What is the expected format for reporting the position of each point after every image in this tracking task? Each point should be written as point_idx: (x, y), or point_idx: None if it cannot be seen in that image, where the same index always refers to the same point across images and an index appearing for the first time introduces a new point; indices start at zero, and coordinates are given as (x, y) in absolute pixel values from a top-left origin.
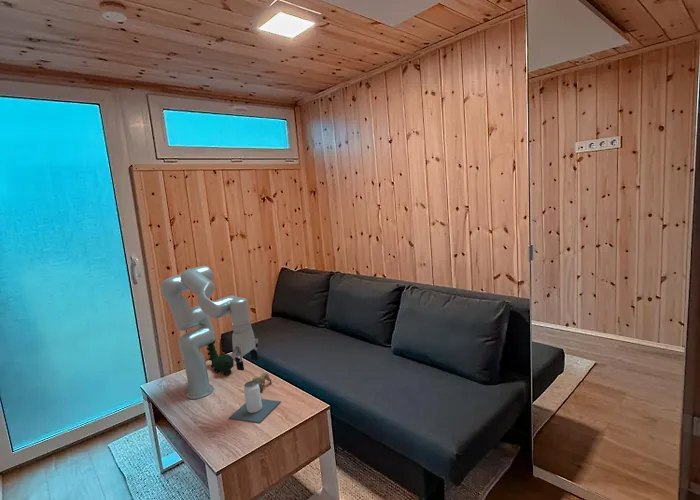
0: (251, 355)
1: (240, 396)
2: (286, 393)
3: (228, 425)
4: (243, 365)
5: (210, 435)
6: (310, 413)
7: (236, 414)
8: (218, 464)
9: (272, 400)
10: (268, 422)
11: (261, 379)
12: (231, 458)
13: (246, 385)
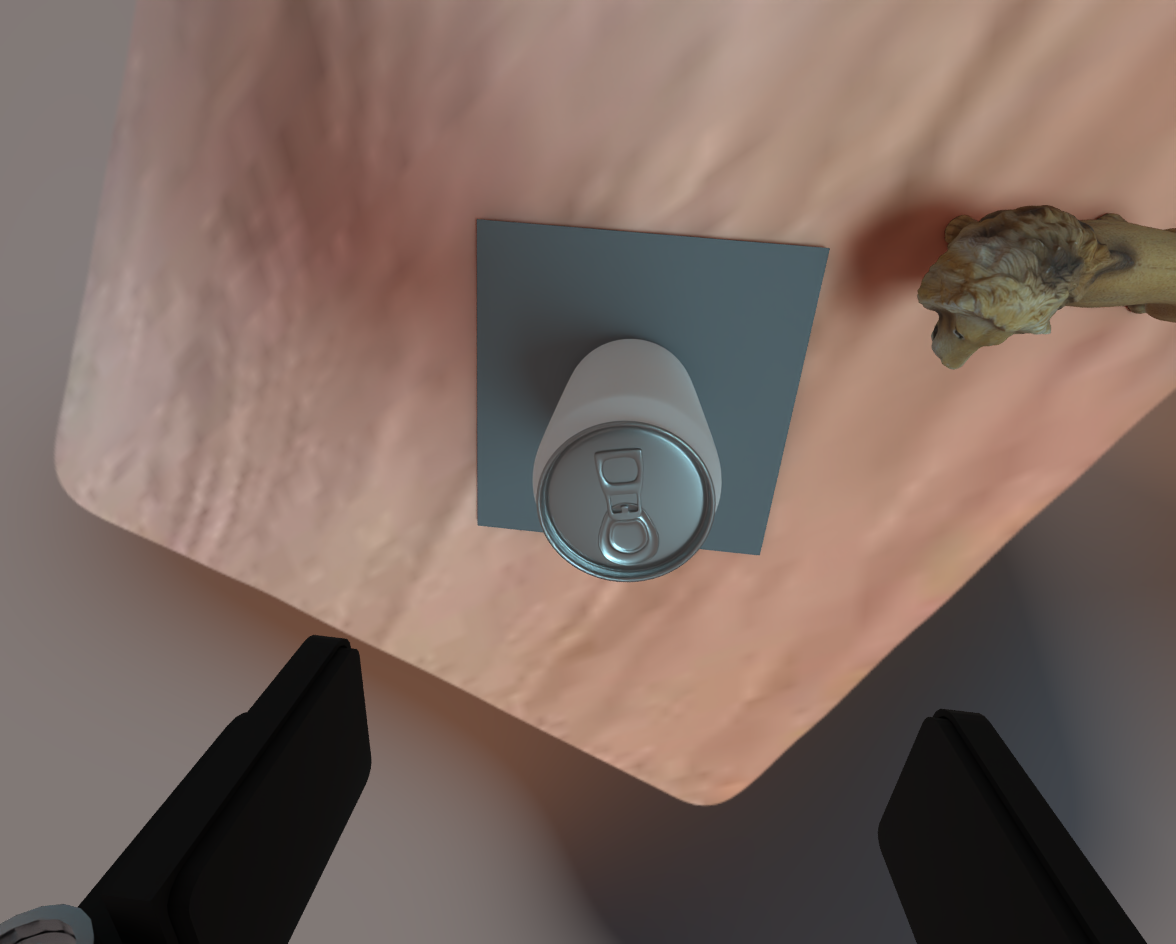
0: (993, 864)
1: (890, 61)
2: (901, 538)
3: (399, 280)
4: (302, 887)
5: (245, 202)
6: (634, 761)
7: (532, 269)
8: (75, 470)
9: (772, 485)
10: (503, 568)
11: (1085, 299)
12: (146, 516)
13: (595, 452)
